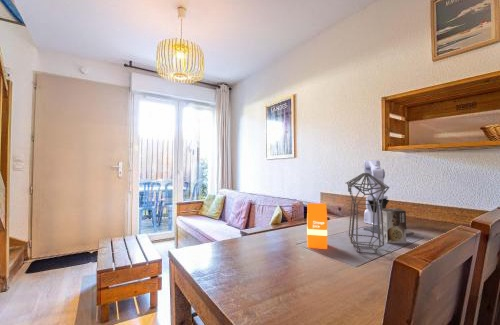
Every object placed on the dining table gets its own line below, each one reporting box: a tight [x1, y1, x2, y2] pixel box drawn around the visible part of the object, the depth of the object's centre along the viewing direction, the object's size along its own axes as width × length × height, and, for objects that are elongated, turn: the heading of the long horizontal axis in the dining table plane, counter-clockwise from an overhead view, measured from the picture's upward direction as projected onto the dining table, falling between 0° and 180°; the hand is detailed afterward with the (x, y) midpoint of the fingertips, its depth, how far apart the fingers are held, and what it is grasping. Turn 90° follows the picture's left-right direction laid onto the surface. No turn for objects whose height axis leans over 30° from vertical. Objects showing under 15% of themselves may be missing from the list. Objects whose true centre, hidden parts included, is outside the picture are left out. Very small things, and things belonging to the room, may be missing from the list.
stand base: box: [363, 224, 415, 236], centre depth 137 cm, size 18×18×5 cm
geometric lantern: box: [345, 172, 390, 255], centre depth 106 cm, size 16×16×35 cm
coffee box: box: [382, 208, 407, 245], centre depth 119 cm, size 9×6×16 cm
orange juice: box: [306, 202, 328, 250], centre depth 113 cm, size 8×9×20 cm
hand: (378, 211), depth 142 cm, fingers open, 7 cm apart
